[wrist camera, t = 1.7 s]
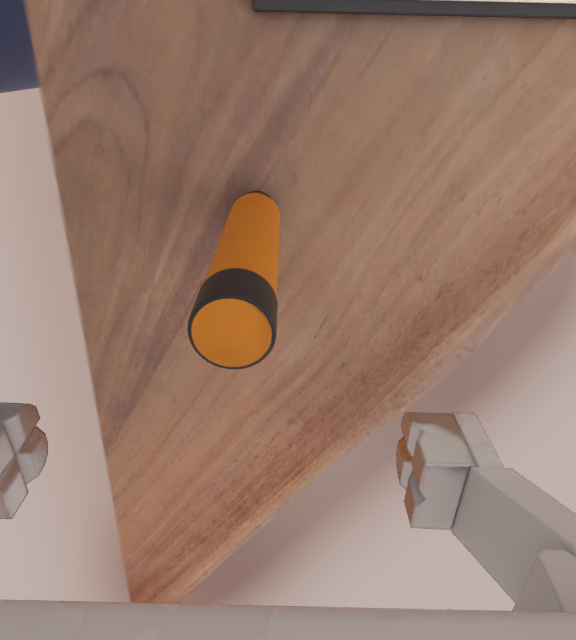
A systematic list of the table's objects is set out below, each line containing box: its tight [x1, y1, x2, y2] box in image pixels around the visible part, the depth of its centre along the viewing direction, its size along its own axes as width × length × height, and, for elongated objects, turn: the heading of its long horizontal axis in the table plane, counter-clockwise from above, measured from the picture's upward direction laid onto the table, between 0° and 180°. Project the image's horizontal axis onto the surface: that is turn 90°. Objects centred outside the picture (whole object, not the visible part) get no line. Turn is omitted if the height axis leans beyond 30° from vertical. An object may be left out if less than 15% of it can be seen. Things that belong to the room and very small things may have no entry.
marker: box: [188, 191, 281, 369], centre depth 20 cm, size 3×3×13 cm
